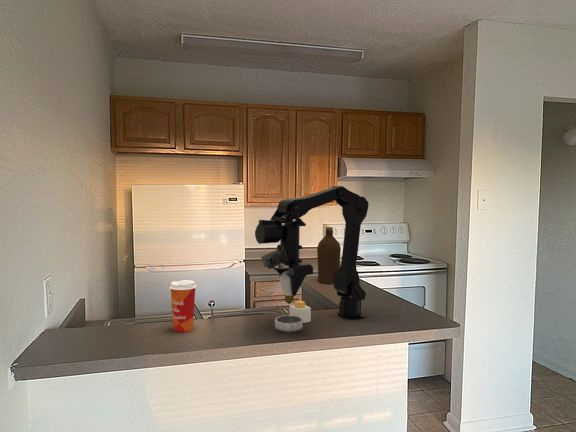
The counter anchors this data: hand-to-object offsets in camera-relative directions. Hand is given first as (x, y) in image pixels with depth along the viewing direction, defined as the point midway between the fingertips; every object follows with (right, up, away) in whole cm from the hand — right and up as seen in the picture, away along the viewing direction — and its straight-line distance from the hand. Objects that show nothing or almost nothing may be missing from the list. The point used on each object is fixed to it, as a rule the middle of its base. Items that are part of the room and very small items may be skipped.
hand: (289, 293), depth 127 cm
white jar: (+3, -10, +8) cm, 13 cm away
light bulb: (0, -3, 0) cm, 3 cm away
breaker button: (+3, -7, +8) cm, 11 cm away
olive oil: (+18, -7, +66) cm, 68 cm away
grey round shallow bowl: (0, -10, +1) cm, 11 cm away
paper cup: (-31, -10, -2) cm, 33 cm away
